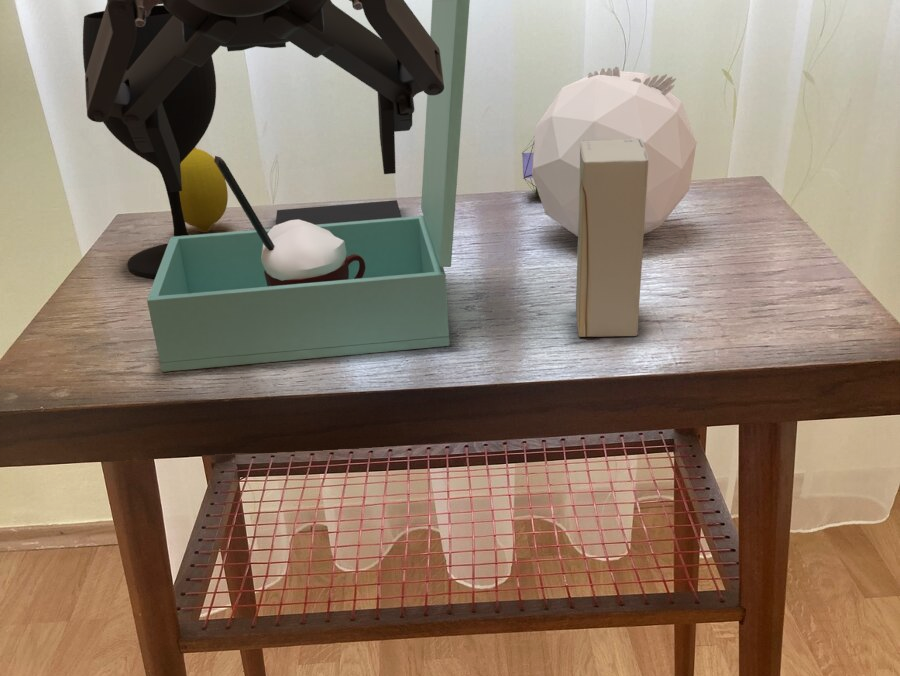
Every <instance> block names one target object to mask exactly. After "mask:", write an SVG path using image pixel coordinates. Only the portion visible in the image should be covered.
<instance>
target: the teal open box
mask: <svg viewBox="0 0 900 676" xmlns="http://www.w3.org/2000/svg"><path fill="white" fill-rule="evenodd" d="M316 226H319V227H321V228H323V229H326V230H328V231H330V232H331V233H332V234H333V235H334V236H335V237H337V238H340V239H342V240H344V242H345V247H346V257H348V256H350V255H354V254H356V255H359V256H360V257H362V258H363V260H364V262H365V272H364V275H363V277H362V278H360V279H354V278H355V276H356V275H357V273H358V271H359V261H353V262H351V263H350V264H349V266H348V268H349V280H337V281H326V282H314V283H303V284H291V285H280V286H267V282H266V278H265V274H264V271H265V268H264V266H263V264H262V262H261V256H262V248H263V242H262V240H261V238H260V237H259V235H258V233H257V232H256V230H255V229H249V230H248V229H247V230H237V231H236V230H235V231H226V232H224V231H223V232H213V233H202V234H201V233H199V234H189V235H187V236H175V237H174V236H170V239H169V241H168V246H167V248H166V251H165V253H164V256H163V259H162V261H161V264H160V267H159V269H158V272H157V275H156V277H155V278H154V281H153V283H152V285H151V288H150V291H149V293H148V296H147V299H146V304H147V307H148V308H147V309H148V312H149V316H150V322H151V326H152V331H153V336H154V341H155V345H156V349H157V354H158V360H159V363H160V369H161V372H162V373H165V372H177V371H188V370H189V371H190V370H198V369H199V370H200V369H208V368H209V369H210V368H220V367H231V366H232V367H233V366H242V365H243V366H244V365H254V364H264V363H265V364H266V363H276V362H286V361H288V362H289V361H298V360H310V359H321V358H332V357H341V356H353V355H363V354H365V355H366V354H374V353H375V354H376V353H386V352H396V351H407V350H408V351H409V350H420V349H430V348H431V349H432V348H441V347H449V346H451V344H450V343H451V342H450V328H449V327H450V325H449V314H448V313H449V309H448V293H447V275H446V272H445V267H440V265H439V262H438V259H437V256H436V253H435V250H434V247H433V244H432V241H431V237H430V234H429V231H428V228H427V225H426V222H425V219H424V216H423V215H416V216H415V215H414V216H401V218H389V219H378V220H366V221H354V222H342V223H330V224H318V225H316ZM272 228H273V227H271V228H264V229H265V231H266V232H267V234H268V232H269V231H270V230H271V229H272Z"/></svg>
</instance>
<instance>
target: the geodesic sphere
mask: <svg viewBox="0 0 900 676" xmlns="http://www.w3.org/2000/svg"><path fill="white" fill-rule="evenodd" d="M667 76H668V74H667V73H665V74H664V75H661V76H660V78H659V75H655V76H653V77H651V76H650V75H649V74H647V73H646V72H639V71H637V72H636V71H626V70H625V71H624V70H620V68H619V67H618V66H615V67H614V68H613V69H612V68H611V67H608V68H607V69H605V68H604V67H603V68H601V69H600V70H598V71H597V70H595V71H594V72H593V73H592V72H588V74H587V76H585V77H582V78H580V79H578V80H576V81H573V82H571V83H569V84H567V85H565V86H563V87H561V88H560V90H559V91H558V93H557V95H556V96H555V98H554V99H553V100H552V102H551V103H550V105H549V107H548V108H547V109H546V111H545V112H544V114H543V115H542V117H541V118H540V120H539V121H538V122H537V124H536V125H535V127H534V136H535V137H534V138H533V143H534V145H533V152H532V153H533V166H532V176H533V178H532V179H533V182H534V186H536V187H535V189H536V188H537V191H538V193H539V194H538V195H539V200H540V202H541V205H542V207H543V211H544V214H545V215H547V217H549V218H550V219H552V220H554V221H555V222H557V224H559V225H561V227H563V228H564V229H566V230H568V231H569V232H570V233H572V234H574V235H575V236H576V237H578V226H579V188H580V141H581V140H613V139H638V138H640V139H641V141H642V143H643V145H644V147H645V150H646V153H647V156H648V176H647V191H646V207H645V222H644V235H645V234H647V233H650V232H652V231H654V230H656V229H658V228H660V227H661V226H662V225H663V223H664V222H665V221H666V220H667V218H668V217H669V216H670V215H671V214H672V212H673V211H674V210H675V208H676V207H677V206H678V205H679V203H680V202H681V201H682V200H683V199H684V197H685V196H686V195H687V194H688V192H690V188H691V181H692V174H693V169H694V162H695V156H696V150H697V149H696V148H697V143H698V141H697V139H696V137H695V135H694V131H693V128H692V125H691V123H690V121H689V118H688V116H687V113H686V110H685V107H684V105H683V102H682V100H681V99H679V98H678V97H677V96H675V95H674V94H673V93H672V92H670V91H672V90H673V88H675V84H673V83H675V82H676V80H677V78H673V76H670V77H667Z"/></svg>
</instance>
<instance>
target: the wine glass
mask: <svg viewBox="0 0 900 676" xmlns="http://www.w3.org/2000/svg"><path fill="white" fill-rule="evenodd" d="M104 11H105V10H102V11H95V12H91V13H88V14H86V15H84V16H83V26H82V57H83V58H82V59H83V60H82V61H83V68H84V74H86V71H87V68H88V64H89V61H90V58H91V54H92V51H93V48H94V44H95V41H96V38H97V34H98V31H99V28H100V25H101V21H102V18H103V15H104ZM172 16H173V15H172V14H171V13H170V12H168V10H167V9H166V8H165V7H164V5H163V4H158V5H156V6H154V7H153V8H152V10H151V14H150V15H149V16H148V17H147V18H145V22H146V24H145V26H143V27H137V26H136V31H137V34H136V41H135V45H134V48H133V51H132V54H131V57H130V59H129V62H128V65H127V68H126V70H129V69H130V67H131V66H132V65H133V64H134V62H135V61H136V60H137V59H138V58H139V56H140V55H141V54H142V53H143V51H144V50H145V49H146V48H147V47H148V45H149V44H150V43H151V42H152V40H153V39H154V38H155V37H156V36H157V34H158V33H159V32H160V31H161V29H162V28H163V27H164V26H165V25H166V23H167V22H168V21H169V20H170V18H171V17H172ZM216 100H217V77H216V71H215V64H214V59H213V55H212V56H211V57H210V58H209V59H208V60H207V61H206V62H205V64H204V65H203V66H201V67H198V66H196V65H195V66H194V67H193V68H192V69H191V70H190V71H189V72H188V74H187V75H186V76H185V77H184V78H183V79H182V80H181V81H180V82H179V84H178V85H177V86H176V87H175V88H174V89H173V90H172V91H171V93H170V94H169V95H168V96H167V97H166V98H165V99H164V100H163V102H162V105H163V107H164V110H165V113H166V116H167V119H168V122H169V124H170V127H171V130H172V133H173V136H174V139H175V142H176V144H177V147H178V150H179V154H180V164H181V162H182V161H183V160H184V159H185V158H186V157H187V156H188V155H189V153H190V152H191V151H192V150H193V149H194V148H195V147H197V146H198V145H199V143H200V141H201V140H202V138H203V137H204V136H205V134H206V132H207V131H208V128H209V126H210V124H211V121H212V119H213V116H214V112H215V108H216V107H215V106H216V102H217V101H216ZM102 123H103V124H104V126H105V127H106V128H107V130H108V131H109V132H110V133H111V134H112V135H113V137H114V138H115V139H116V140H118V141H119V142H120V143H121V144H122V145H123V146H124V147H126V148H127V149H128V150H129V151H131V152H132V153H134V154H135V155H137V156H139V158H142V159H143V160H145V161H146V162H148V163H150V164H151V165H153V166H155V167H156V168H157V170H158V171H159V173H160V174H161V177H162V180H163V183H164V186H165V190H166V194H167V199H168V203H169V207H170V212H171V218H172V219H171V220H172V227H173V237H175V236H187V235H190V234H189V230H188V229H187V225H186V222H185V221H184V217H183V212H182V207H181V201H180V194H179V191H175V192H170V190H169V187H168V185H167V182H166V180H165V177H164V174H163V172H162V169H161V167H160V164H159V162H158V159H157V156H156V154H155V152H143V153H141V152H140V151H139V150H138V149H137V148H136V146H135V144H134V141H133V139H132V137H131V134H130V132H129V129H128V127H127V125H126V124H124V122H123V121H122V119H120V118H118V117H113V116H109V119H108V120H107V121H105V122H102ZM168 243H169V242H168ZM168 243H163V244H159V245H155V246H152V247H149V248H146V249H143V250H141V251H139V252H137V253H135V254H133V255H132V256H131V257H130V258H129V259H128V260H127V263H126V264H127V269H128V271H129V272H131V273H132V274H134V275H135V276H139V277H143V278H147V279H148V278H149V279H155V277H156V275H157V272H158V269H159V267H160V264H161V261H162V259H163V256H164V253H165V251H166V248H167V246H168Z"/></svg>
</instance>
